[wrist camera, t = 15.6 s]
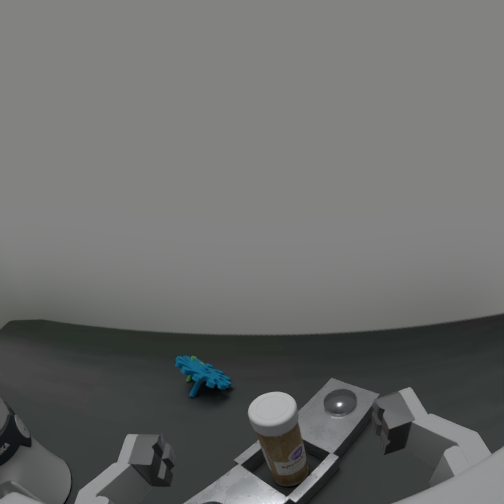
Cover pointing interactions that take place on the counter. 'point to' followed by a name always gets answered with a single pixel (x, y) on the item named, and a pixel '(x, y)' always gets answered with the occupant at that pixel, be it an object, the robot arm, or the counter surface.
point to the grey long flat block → (315, 443)
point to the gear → (201, 374)
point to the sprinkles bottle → (280, 437)
